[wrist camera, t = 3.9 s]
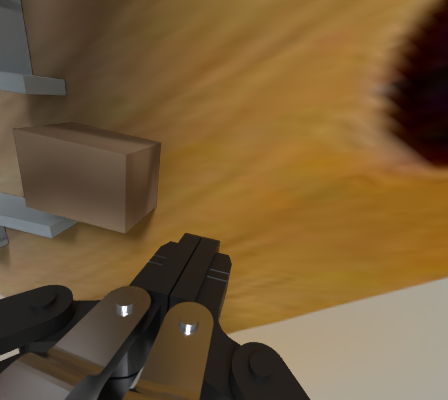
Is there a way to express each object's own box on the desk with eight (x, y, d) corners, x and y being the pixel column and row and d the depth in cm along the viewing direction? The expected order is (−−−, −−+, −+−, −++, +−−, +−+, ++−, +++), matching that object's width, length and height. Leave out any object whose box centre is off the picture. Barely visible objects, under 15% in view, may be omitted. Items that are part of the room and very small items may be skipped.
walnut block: (72, 122, 18) (12, 128, 14) (161, 142, 17) (125, 155, 13) (77, 185, 20) (26, 206, 16) (157, 205, 19) (124, 233, 15)
